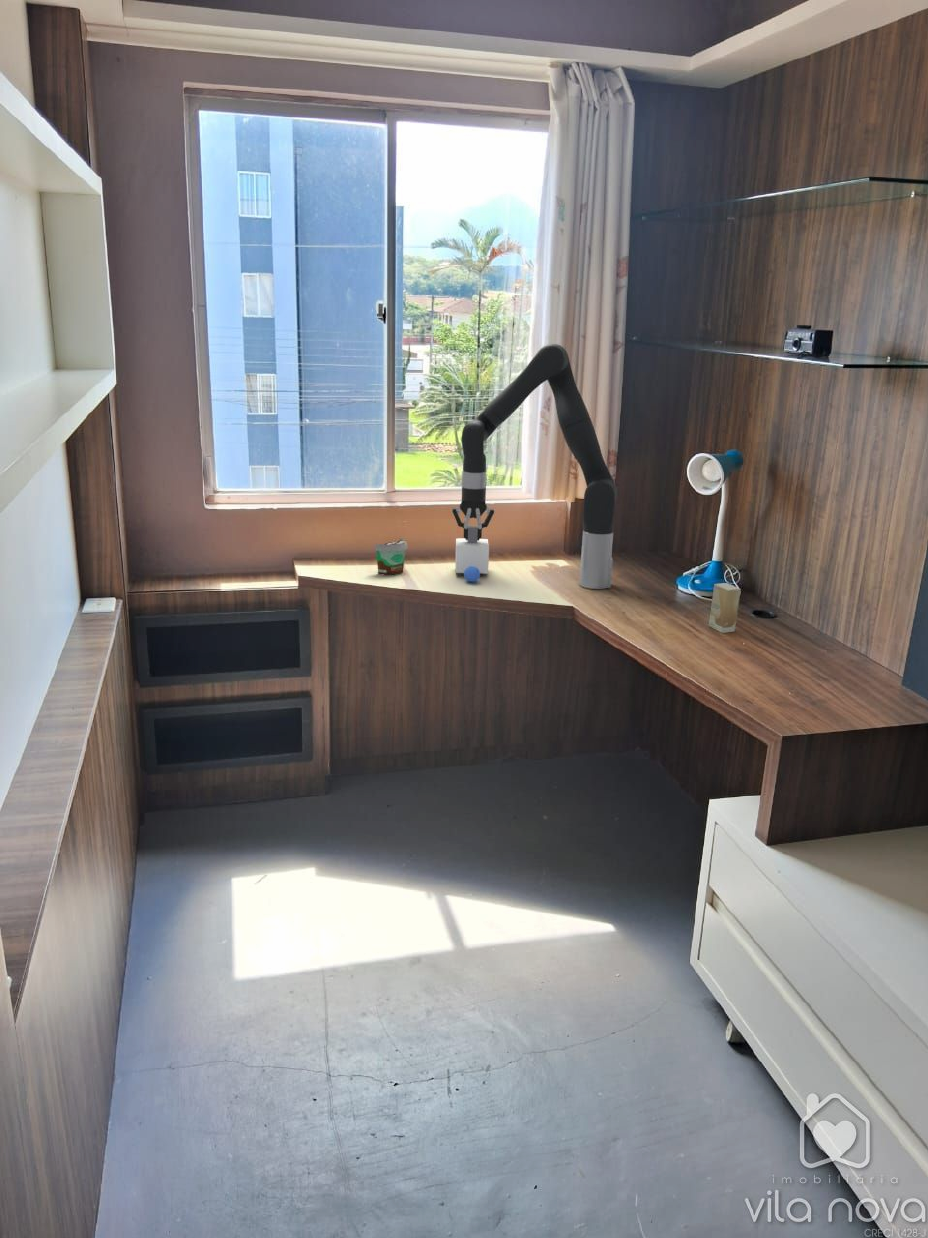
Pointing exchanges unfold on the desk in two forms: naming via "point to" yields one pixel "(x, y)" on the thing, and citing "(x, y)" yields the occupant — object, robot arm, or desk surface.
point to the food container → (391, 557)
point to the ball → (472, 574)
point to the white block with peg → (472, 552)
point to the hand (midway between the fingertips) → (472, 539)
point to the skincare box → (724, 607)
